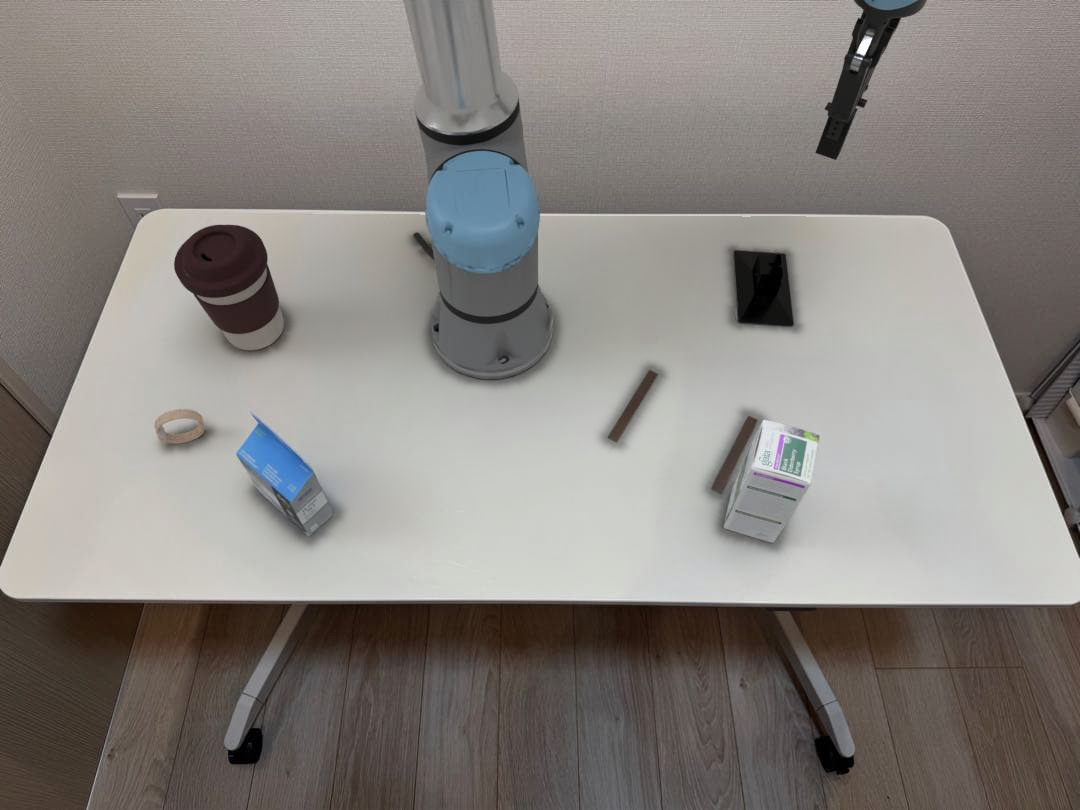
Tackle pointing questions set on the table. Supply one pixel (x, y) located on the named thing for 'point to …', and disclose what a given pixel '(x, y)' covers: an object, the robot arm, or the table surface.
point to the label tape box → (284, 478)
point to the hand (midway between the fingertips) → (827, 152)
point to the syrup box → (771, 480)
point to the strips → (731, 457)
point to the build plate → (762, 288)
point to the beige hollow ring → (171, 415)
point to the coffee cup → (232, 283)
